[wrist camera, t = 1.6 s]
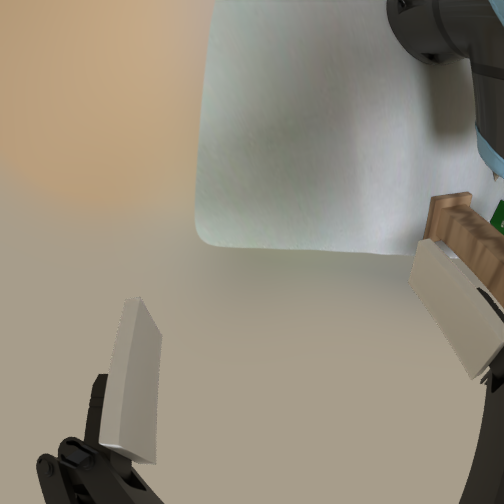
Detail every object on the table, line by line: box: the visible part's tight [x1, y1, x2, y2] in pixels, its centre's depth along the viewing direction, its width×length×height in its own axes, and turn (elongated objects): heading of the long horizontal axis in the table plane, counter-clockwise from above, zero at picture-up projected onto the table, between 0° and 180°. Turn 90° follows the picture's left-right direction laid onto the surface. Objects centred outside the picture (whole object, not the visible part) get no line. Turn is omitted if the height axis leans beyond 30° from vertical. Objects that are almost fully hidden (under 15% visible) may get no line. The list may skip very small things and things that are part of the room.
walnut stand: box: [423, 192, 504, 308], centre depth 36 cm, size 12×10×28 cm
